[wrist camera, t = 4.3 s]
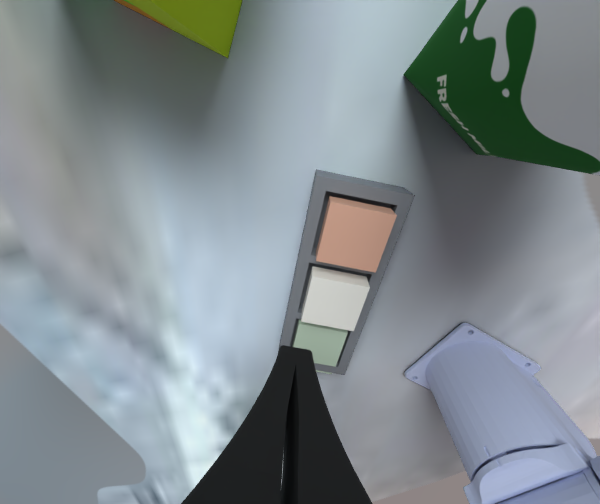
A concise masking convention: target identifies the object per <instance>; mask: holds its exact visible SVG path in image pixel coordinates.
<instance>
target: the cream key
mask: <svg viewBox="0 0 600 504" xmlns="http://www.w3.org/2000/svg"><path fill="white" fill-rule="evenodd" d="M369 289H370V286H369V283H368V280H367V277H366V276H360V275H355V274H350V273H345V272H340V271H335V270H329V269H324V268H319V267H314V266H312V270H311V274H310V278H309V283H308V287H307V291H306V295H305V299H304V303H303V307H302V316H301V322H306V323H312V324H317V325H322V326H328V327H333V328H338V329H344V330H349V331H354V329H355V326H356V324H357V321H358V318H359V316H360V313H361V310H362V308H363V305H364V302H365V300H366V297H367V294H368V292H369Z"/></svg>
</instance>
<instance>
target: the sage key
mask: <svg viewBox="0 0 600 504" xmlns="http://www.w3.org/2000/svg"><path fill="white" fill-rule="evenodd" d="M347 334H348V331H347V330H344V329H338V328H333V327H328V326H322V325H317V324H312V323H306V322H301V319H298V323H297V327H296V331H295V335H294V339H293V343H292V347H296V348H302V349H307V350H311V352H312V355H313V360H314V363H317V364H323V365H328V366H334V367H336V364H337V361H338V359H339V356H340V353H341V350H342V348H343V345H344V342H345V339H346V337H347Z"/></svg>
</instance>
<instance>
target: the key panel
mask: <svg viewBox="0 0 600 504" xmlns="http://www.w3.org/2000/svg"><path fill="white" fill-rule="evenodd" d="M329 196H332V197H337V198H342V199H347V200H352V201H357V202H361V203H366V204H371V205H376V206H381V207H386V208H391V209H392V210H393V211H394V213H395V214H396V215H397V217H396V219H395V222H394V225H393V227H392V230H391V233H390V235H389V238H388V241H387V243H386V246H385V249H384V251H383V254H382V257H381V260H380V262H379V265H378V268H377V270H376V273H375V272H370V271H365V270H360V269H354V268H349V267H344V266H339V265H334V264H329V263H324V262H318V261H316V250H317V245H318V241H319V237H320V233H321V229H322V225H323V221H324V217H325V213H326V208H327V204H328V200H329ZM414 196H415V195H413V194H412V193H411V192H409V191H408V190H406V189H405V188H403V187H398V186H393V185H389V184H384V183H379V182H374V181H369V180H364V179H359V178H355V177H350V176H345V175H340V174H335V173H330V172H325V171H321V170H316V173H315V178H314V182H313V187H312V192H311V197H310V202H309V206H308V211H307V216H306V221H305V225H304V230H303V235H302V240H301V245H300V249H299V254H298V259H297V264H296V268H295V273H294V278H293V283H292V287H291V292H290V297H289V302H288V307H287V311H286V316H285V321H284V326H283V330H282V335H281V340H280V345H279V348H280V346H282V345H285V346H291V347H292V343H293V339H294V335H295V331H296V327H297V323H298V319H301V316H302V307H303V303H304V299H305V295H306V291H307V287H308V283H309V278H310V274H311V270H312V266H314V267H319V268H324V269H329V270H335V271H340V272H345V273H350V274H355V275H360V276H366V277H367V280H368V283H369V286H370V289H369V292H368V294H367V297H366V300H365V302H364V305H363V308H362V310H361V313H360V316H359V318H358V321H357V324H356V326H355V329H354V331H349V330H347V331H348V334H347V337H346V339H345V342H344V345H343V348H342V350H341V353H340V356H339V359H338V361H337V364H336V367H334V366H328V365H323V364H317V363H314V365H315V369H316V372H322V373H327V374H332V373H335V374H341V375H345V372H346V370H347V367H348V364H349V362H350V359H351V357H352V354H353V352H354V349H355V347H356V344H357V342H358V339H359V336H360V334H361V331H362V329H363V326H364V324H365V321H366V319H367V316H368V313H369V311H370V308H371V306H372V303H373V301H374V298H375V296H376V293H377V290H378V288H379V285H380V283H381V280H382V278H383V275H384V273H385V270H386V268H387V265H388V262H389V260H390V257H391V255H392V252H393V250H394V247H395V245H396V242H397V239H398V237H399V234H400V232H401V229H402V227H403V224H404V222H405V219H406V216H407V214H408V211H409V209H410V206H411V204H412V201H413V199H414ZM278 352H279V351H278Z"/></svg>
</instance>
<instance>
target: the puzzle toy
mask: <svg viewBox="0 0 600 504" xmlns="http://www.w3.org/2000/svg"><path fill="white" fill-rule="evenodd" d="M114 1H116V2H118V3H120V4H122V5H124V6H126V7H128V8H130V9H132V10H134V11H136V12H138V13H140V14H142V15H144V16H146V17H148V18H150V19H152V20H154V21H155V22H157V23H159V24H161V25H163V26H165V27H167V28H169V29H171V30H173V31H175V32H177V33H179V34H181V35H183V36H185V37H187V38H189V39H191V40H193V41H195V42H197V43H199V44H201V45H203V46H205V47H207V48H209V49H211V50H213V51H215V52H217V53H219V54H221V55H222V56H224V57H226V58H228V55H229V51H230V47H231V44H232V40H233V36H234V32H235V28H236V24H237V20H238V16H239V12H240V8H241V4H242V0H114Z"/></svg>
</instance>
